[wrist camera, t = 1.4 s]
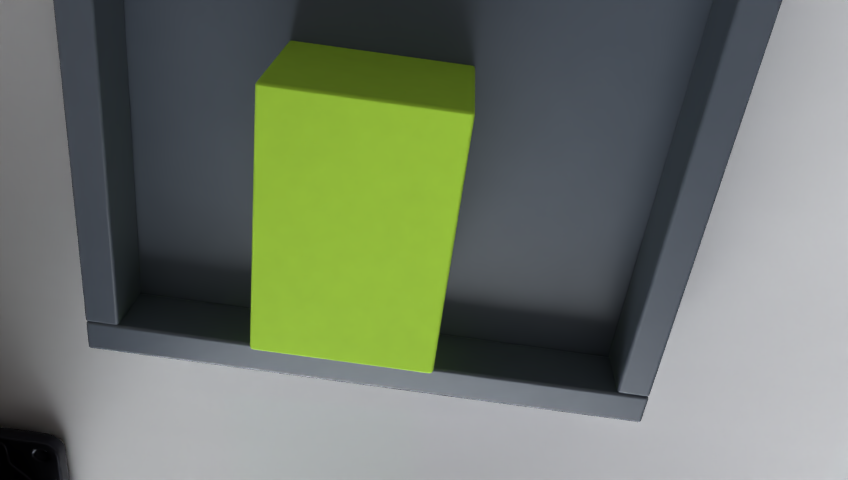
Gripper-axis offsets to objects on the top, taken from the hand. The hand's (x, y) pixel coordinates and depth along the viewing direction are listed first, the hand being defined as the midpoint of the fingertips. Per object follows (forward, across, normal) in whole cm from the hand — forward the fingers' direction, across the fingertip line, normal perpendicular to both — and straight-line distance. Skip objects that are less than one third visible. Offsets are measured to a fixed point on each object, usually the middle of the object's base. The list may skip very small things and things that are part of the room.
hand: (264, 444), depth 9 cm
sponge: (+10, 0, +1) cm, 10 cm away
